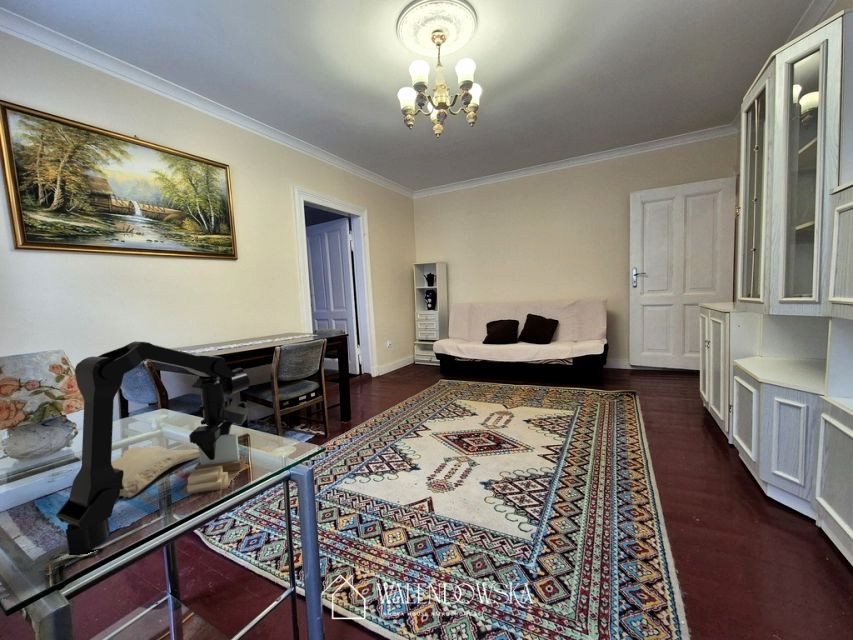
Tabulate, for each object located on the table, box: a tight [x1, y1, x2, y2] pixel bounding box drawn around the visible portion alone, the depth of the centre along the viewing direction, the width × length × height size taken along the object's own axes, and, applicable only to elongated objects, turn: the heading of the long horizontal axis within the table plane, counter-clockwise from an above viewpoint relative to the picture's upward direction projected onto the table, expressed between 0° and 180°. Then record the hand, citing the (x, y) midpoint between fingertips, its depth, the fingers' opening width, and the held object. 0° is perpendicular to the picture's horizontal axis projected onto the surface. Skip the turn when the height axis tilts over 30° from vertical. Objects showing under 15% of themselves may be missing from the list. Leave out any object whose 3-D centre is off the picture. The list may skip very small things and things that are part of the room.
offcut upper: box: [187, 466, 223, 486], centre depth 94 cm, size 4×7×2 cm, turn 105°
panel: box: [198, 433, 240, 465], centre depth 102 cm, size 1×10×10 cm, turn 100°
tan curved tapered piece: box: [111, 445, 200, 498], centre depth 103 cm, size 24×8×20 cm
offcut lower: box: [186, 472, 228, 494], centre depth 94 cm, size 5×8×2 cm, turn 100°
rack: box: [179, 455, 247, 495], centre depth 98 cm, size 14×12×4 cm
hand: (219, 452), depth 102 cm, fingers open, 9 cm apart
